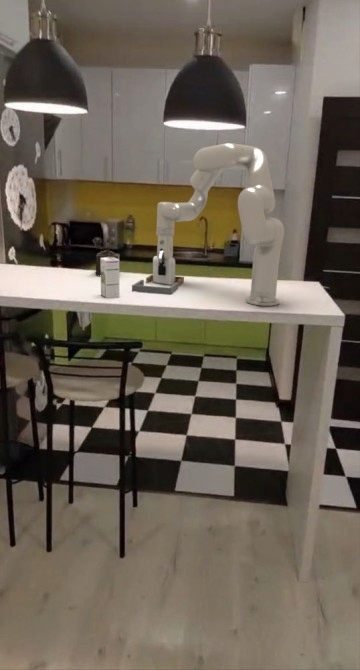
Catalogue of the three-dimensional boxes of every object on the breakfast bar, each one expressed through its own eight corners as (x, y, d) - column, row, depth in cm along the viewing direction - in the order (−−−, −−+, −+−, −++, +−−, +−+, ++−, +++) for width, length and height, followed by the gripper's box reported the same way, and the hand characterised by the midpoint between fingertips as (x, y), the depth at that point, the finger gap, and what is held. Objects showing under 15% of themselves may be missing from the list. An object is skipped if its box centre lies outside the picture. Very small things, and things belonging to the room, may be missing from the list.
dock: (179, 286, 219) (179, 280, 218) (146, 283, 221) (146, 277, 221) (183, 282, 227) (184, 276, 226) (151, 280, 230) (151, 274, 229)
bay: (170, 294, 201) (171, 288, 200) (132, 291, 204) (132, 285, 203) (178, 288, 213) (178, 282, 213) (141, 285, 216) (141, 279, 216)
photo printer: (176, 283, 222) (176, 255, 218) (171, 285, 219) (171, 257, 214) (156, 280, 227) (156, 253, 223) (151, 282, 223) (151, 254, 219)
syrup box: (120, 297, 192) (120, 259, 188) (105, 298, 190) (105, 259, 185) (114, 294, 197) (114, 256, 193) (100, 295, 194) (99, 257, 190)
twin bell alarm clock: (96, 272, 244) (96, 234, 239) (119, 273, 245) (120, 235, 240) (92, 278, 229) (92, 237, 224) (117, 278, 230) (117, 238, 225)
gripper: (169, 234, 207) (167, 278, 213) (178, 230, 223) (176, 271, 229) (151, 233, 209) (149, 276, 214) (161, 229, 225) (160, 270, 230)
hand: (163, 273), depth 221 cm, fingers open, 5 cm apart
